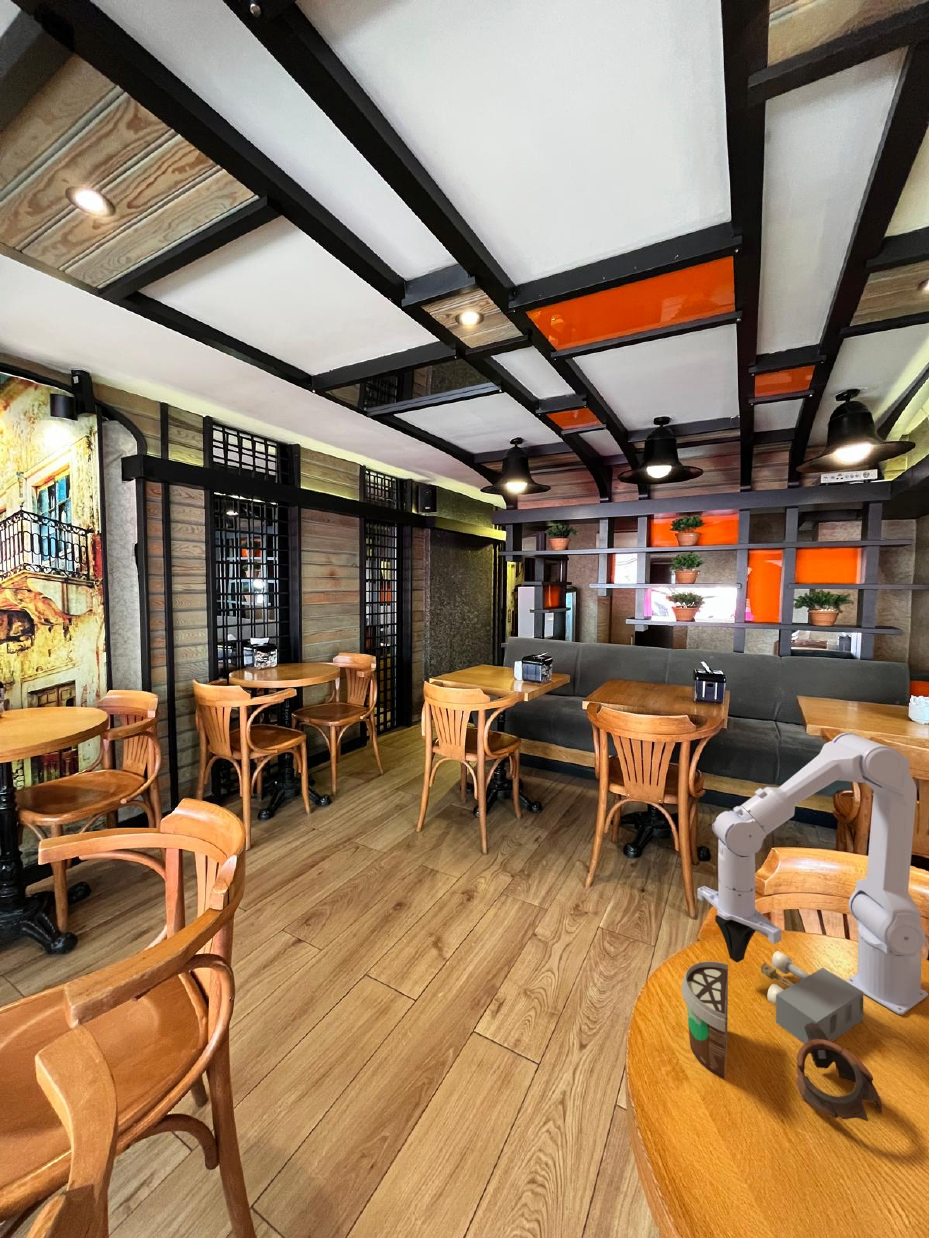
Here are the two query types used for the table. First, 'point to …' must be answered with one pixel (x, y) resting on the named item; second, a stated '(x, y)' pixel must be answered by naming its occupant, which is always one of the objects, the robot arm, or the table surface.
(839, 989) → the grey slotted box
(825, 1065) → the jagged brown ring
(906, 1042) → the table surface
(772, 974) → the pot shaft
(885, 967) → the robot arm
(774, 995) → the knob
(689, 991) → the food container
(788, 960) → the knob
